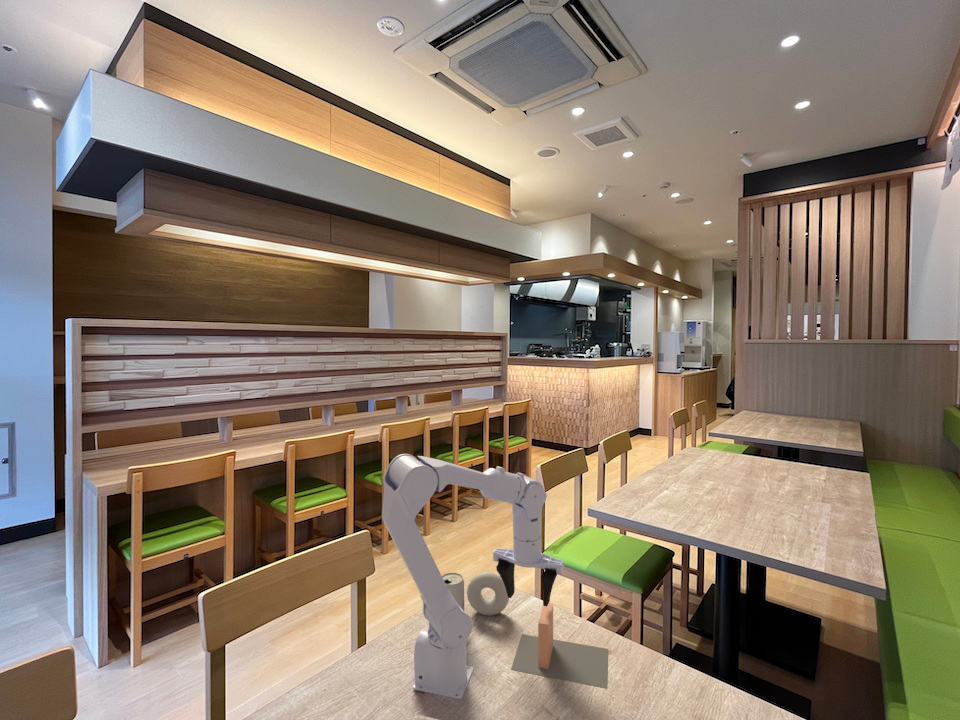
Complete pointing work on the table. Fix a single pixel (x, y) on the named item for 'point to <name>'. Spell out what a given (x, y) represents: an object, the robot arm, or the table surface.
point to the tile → (545, 636)
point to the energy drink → (455, 587)
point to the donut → (479, 601)
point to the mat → (564, 661)
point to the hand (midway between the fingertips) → (528, 599)
